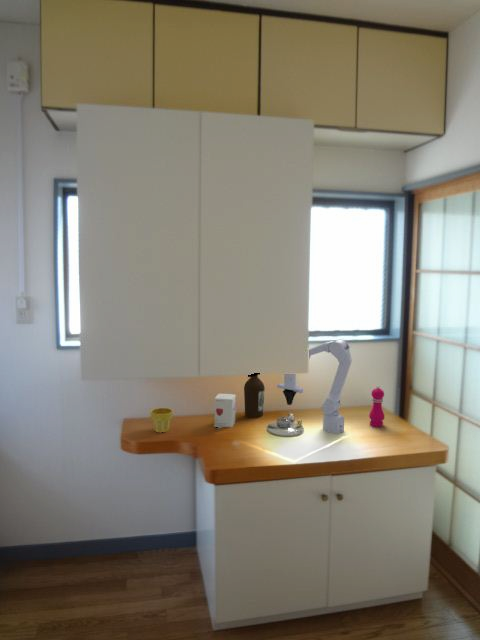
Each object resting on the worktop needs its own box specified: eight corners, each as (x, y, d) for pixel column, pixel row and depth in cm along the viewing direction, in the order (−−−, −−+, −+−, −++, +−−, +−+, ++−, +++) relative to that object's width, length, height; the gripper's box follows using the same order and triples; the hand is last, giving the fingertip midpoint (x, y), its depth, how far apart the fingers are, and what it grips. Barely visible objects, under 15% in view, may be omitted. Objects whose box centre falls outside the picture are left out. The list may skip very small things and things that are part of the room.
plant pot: (177, 429, 222) (177, 409, 221) (164, 436, 213) (164, 415, 212) (159, 425, 227) (158, 406, 225) (146, 432, 217) (146, 412, 216)
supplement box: (213, 428, 224) (213, 398, 222) (217, 422, 232) (218, 393, 231) (232, 429, 222) (232, 399, 220) (235, 423, 231) (235, 394, 229)
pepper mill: (382, 422, 233) (384, 383, 231) (385, 427, 226) (387, 387, 224) (367, 422, 234) (369, 383, 231) (370, 427, 227) (371, 387, 224)
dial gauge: (295, 423, 231) (295, 413, 231) (287, 426, 227) (288, 416, 226) (289, 421, 234) (290, 411, 233) (282, 424, 229) (282, 414, 229)
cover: (292, 427, 219) (292, 419, 218) (279, 428, 217) (279, 420, 217) (287, 423, 225) (288, 415, 224) (275, 424, 223) (275, 416, 223)
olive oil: (240, 418, 238) (240, 370, 235) (248, 412, 248) (248, 366, 245) (259, 421, 234) (260, 372, 231) (267, 415, 244) (267, 368, 241)
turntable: (309, 435, 212) (309, 425, 212) (273, 438, 209) (273, 428, 208) (296, 422, 229) (296, 414, 228) (263, 425, 225) (263, 416, 225)
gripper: (307, 378, 226) (306, 405, 227) (283, 373, 236) (283, 399, 237) (298, 381, 221) (297, 409, 222) (274, 376, 231) (274, 402, 232)
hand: (289, 404), depth 229 cm, fingers closed
